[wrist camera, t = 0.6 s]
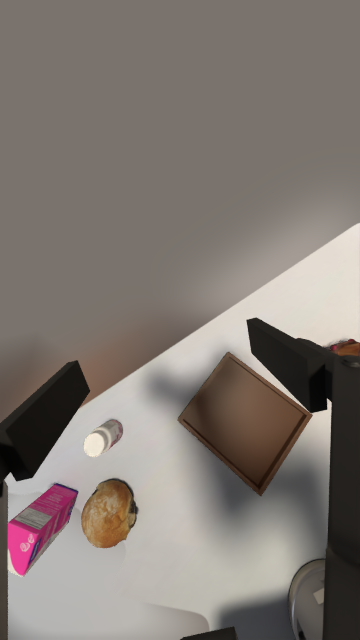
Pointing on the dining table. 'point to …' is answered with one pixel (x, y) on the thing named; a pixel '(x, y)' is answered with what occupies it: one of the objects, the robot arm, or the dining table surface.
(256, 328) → the robot arm
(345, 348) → the mug
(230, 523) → the dining table surface
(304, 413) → the tray
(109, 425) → the pill bottle
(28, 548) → the supplement box
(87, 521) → the bread roll
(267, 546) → the dining table surface
